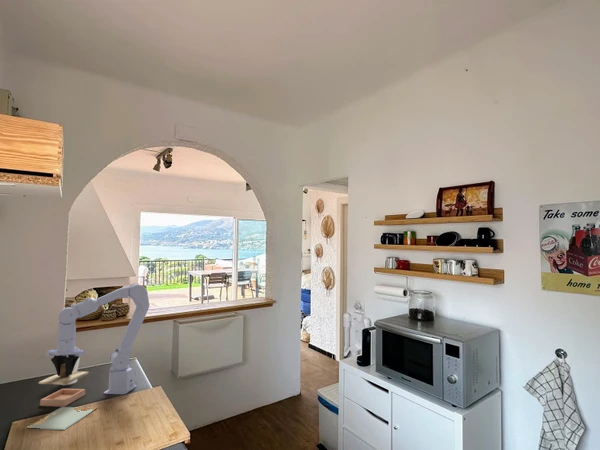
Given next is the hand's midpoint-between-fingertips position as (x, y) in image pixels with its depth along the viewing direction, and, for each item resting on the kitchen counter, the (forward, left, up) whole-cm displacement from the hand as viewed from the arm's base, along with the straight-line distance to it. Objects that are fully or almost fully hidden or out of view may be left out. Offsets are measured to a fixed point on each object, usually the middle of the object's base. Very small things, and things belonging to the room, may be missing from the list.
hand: (64, 375), depth 123 cm
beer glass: (+14, -18, -11) cm, 26 cm away
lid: (0, 0, -1) cm, 1 cm away
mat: (-10, +11, -10) cm, 18 cm away
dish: (+2, -2, -10) cm, 11 cm away
